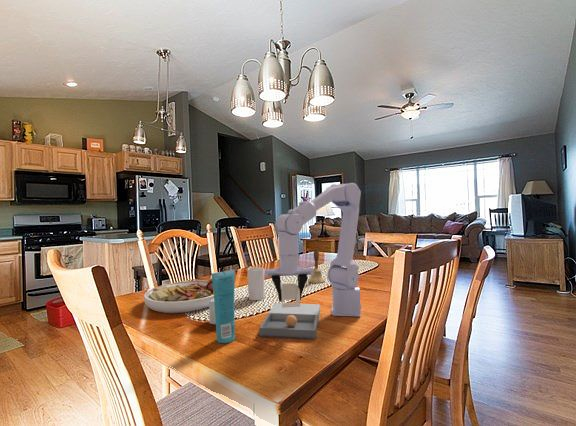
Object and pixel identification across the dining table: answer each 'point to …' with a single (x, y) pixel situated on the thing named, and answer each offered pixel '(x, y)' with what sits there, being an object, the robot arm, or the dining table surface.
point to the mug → (256, 283)
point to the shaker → (290, 294)
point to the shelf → (296, 312)
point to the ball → (291, 320)
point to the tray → (288, 328)
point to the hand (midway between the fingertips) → (289, 299)
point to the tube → (224, 305)
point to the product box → (212, 312)
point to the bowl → (180, 296)
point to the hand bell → (316, 270)
